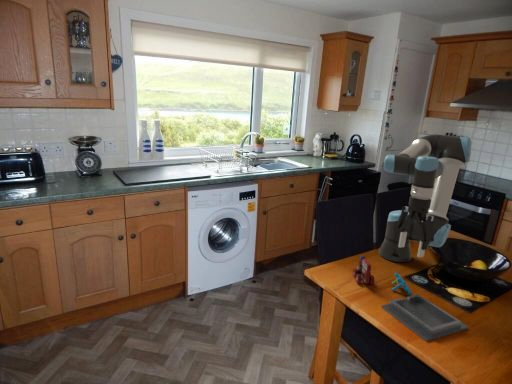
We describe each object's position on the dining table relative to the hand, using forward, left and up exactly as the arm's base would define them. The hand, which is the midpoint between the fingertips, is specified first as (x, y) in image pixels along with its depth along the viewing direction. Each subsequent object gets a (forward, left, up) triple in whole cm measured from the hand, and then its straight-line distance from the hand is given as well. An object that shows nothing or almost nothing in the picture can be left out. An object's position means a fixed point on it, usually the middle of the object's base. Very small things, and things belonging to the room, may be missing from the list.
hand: (410, 251), depth 135 cm
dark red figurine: (+10, -13, -18) cm, 24 cm away
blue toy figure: (-1, +1, -19) cm, 19 cm away
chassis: (+7, +16, -18) cm, 25 cm away
